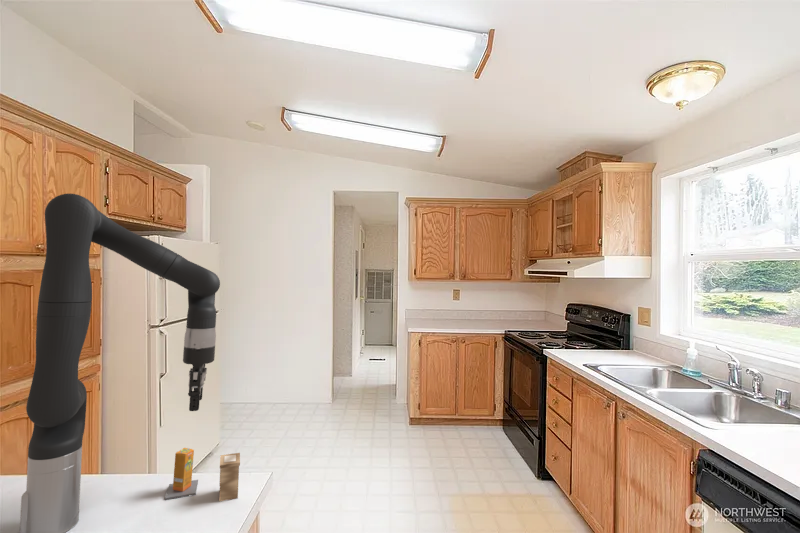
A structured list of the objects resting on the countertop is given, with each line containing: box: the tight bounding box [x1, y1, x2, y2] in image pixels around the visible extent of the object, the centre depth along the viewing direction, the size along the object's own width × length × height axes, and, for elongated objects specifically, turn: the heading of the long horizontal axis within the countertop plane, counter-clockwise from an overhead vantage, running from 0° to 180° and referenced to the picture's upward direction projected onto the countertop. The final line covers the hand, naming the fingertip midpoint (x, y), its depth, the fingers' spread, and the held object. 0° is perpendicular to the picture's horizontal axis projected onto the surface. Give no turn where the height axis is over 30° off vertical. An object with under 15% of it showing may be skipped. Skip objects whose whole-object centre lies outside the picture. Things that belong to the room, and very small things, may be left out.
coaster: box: [164, 479, 199, 501], centre depth 104 cm, size 7×7×1 cm
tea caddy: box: [218, 452, 241, 502], centre depth 103 cm, size 5×6×9 cm
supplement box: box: [172, 447, 195, 492], centre depth 104 cm, size 3×3×10 cm
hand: (195, 405), depth 104 cm, fingers open, 8 cm apart
